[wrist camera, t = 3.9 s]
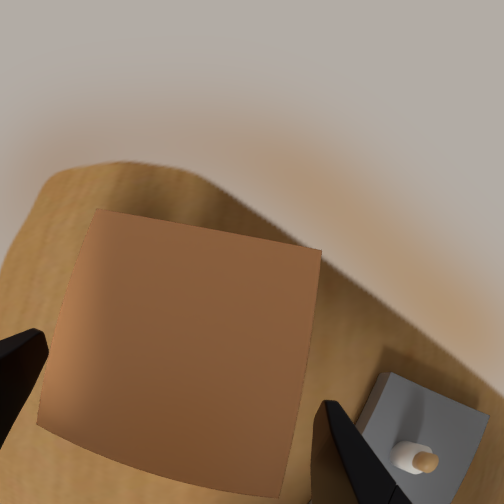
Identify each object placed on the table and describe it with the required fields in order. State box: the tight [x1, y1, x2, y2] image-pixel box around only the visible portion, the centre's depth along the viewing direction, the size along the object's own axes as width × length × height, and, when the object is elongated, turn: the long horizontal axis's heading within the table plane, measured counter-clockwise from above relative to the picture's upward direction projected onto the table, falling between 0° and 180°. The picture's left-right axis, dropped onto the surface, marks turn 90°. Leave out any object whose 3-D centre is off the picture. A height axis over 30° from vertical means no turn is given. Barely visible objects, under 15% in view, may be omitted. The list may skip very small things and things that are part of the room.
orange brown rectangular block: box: [37, 209, 322, 498], centre depth 12 cm, size 6×6×10 cm
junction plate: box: [309, 372, 490, 504], centre depth 11 cm, size 13×9×4 cm
